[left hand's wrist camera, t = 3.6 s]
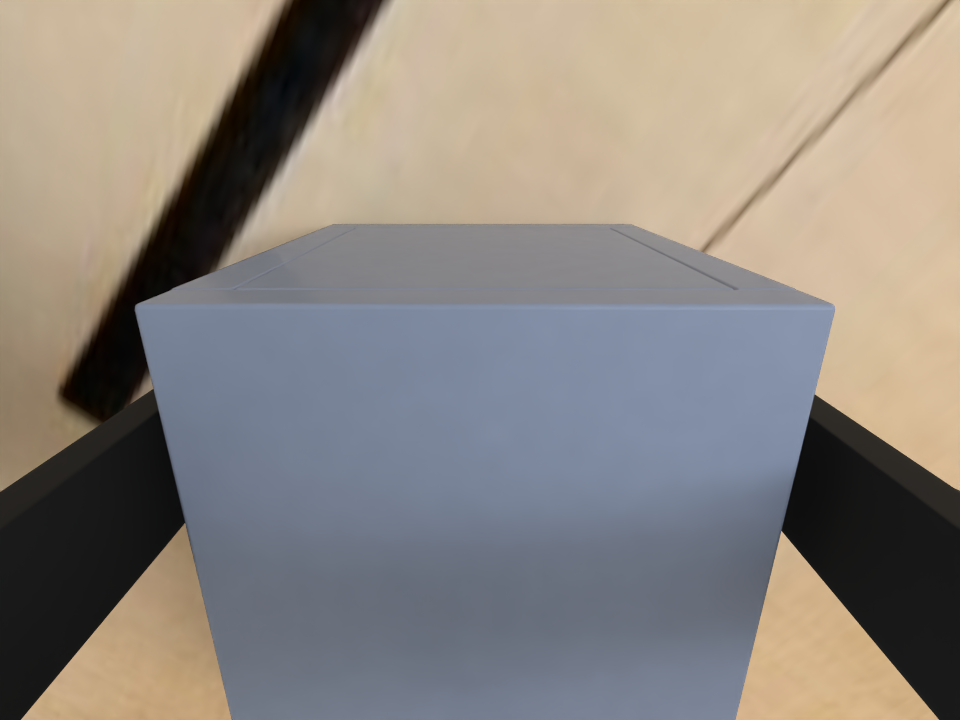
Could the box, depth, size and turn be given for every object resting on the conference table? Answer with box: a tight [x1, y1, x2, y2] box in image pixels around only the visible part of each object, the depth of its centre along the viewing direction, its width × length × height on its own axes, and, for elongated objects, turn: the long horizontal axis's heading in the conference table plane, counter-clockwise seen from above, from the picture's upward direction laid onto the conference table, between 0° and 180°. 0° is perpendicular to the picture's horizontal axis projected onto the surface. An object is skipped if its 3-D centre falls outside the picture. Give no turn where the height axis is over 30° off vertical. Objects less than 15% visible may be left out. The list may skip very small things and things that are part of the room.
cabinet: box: [135, 225, 835, 720], centre depth 16 cm, size 17×11×11 cm, turn 0°
